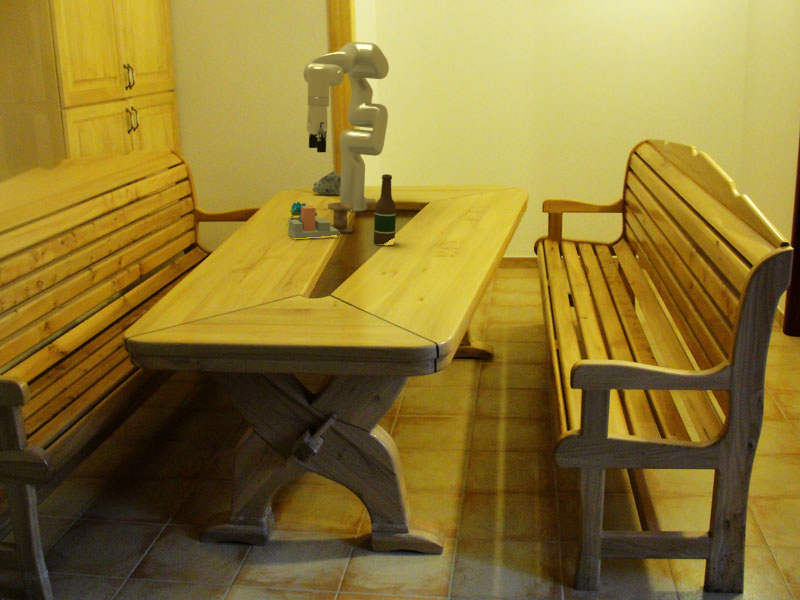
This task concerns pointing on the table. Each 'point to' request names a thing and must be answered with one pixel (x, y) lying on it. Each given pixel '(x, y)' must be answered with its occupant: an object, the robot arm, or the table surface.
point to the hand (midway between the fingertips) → (317, 150)
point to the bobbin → (341, 216)
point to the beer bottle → (385, 213)
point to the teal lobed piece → (298, 210)
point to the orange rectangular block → (308, 218)
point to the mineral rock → (328, 184)
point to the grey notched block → (320, 230)
